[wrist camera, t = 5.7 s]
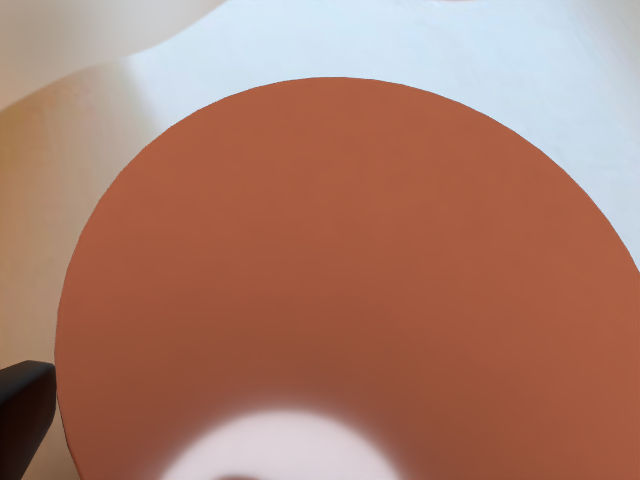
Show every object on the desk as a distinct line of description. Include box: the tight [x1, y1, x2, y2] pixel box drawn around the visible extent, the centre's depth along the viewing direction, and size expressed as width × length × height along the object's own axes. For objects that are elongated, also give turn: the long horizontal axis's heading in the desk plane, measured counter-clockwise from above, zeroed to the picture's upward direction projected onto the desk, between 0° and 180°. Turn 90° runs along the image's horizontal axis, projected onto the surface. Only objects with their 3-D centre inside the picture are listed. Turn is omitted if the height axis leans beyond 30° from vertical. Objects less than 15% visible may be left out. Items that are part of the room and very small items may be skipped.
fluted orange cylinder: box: [54, 77, 640, 480], centre depth 10 cm, size 7×7×11 cm
